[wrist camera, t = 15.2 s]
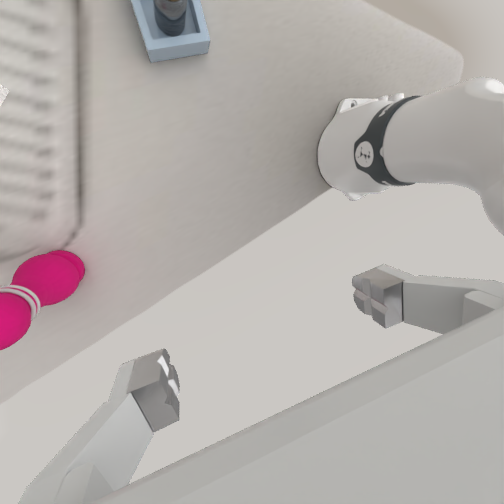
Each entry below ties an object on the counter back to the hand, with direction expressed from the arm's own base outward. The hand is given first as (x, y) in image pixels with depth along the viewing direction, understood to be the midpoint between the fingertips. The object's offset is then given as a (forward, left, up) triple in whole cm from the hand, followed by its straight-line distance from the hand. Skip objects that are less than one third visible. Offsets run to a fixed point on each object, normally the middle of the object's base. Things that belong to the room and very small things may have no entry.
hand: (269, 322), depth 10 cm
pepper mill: (+24, +2, -35) cm, 43 cm away
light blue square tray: (-4, -27, -35) cm, 45 cm away
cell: (-4, -27, -34) cm, 44 cm away
